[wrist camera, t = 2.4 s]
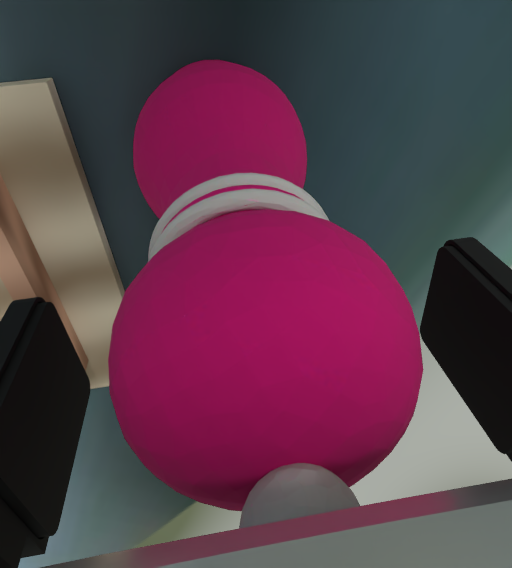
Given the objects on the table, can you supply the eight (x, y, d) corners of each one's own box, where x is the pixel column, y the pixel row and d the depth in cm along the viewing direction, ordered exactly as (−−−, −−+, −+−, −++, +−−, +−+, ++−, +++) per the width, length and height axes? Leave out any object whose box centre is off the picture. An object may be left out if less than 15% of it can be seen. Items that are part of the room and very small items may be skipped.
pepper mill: (209, 217, 24) (264, 695, 8) (109, 119, 20) (-174, 683, 4) (310, 135, 22) (652, 559, 6) (221, 7, 18) (541, 261, 2)
